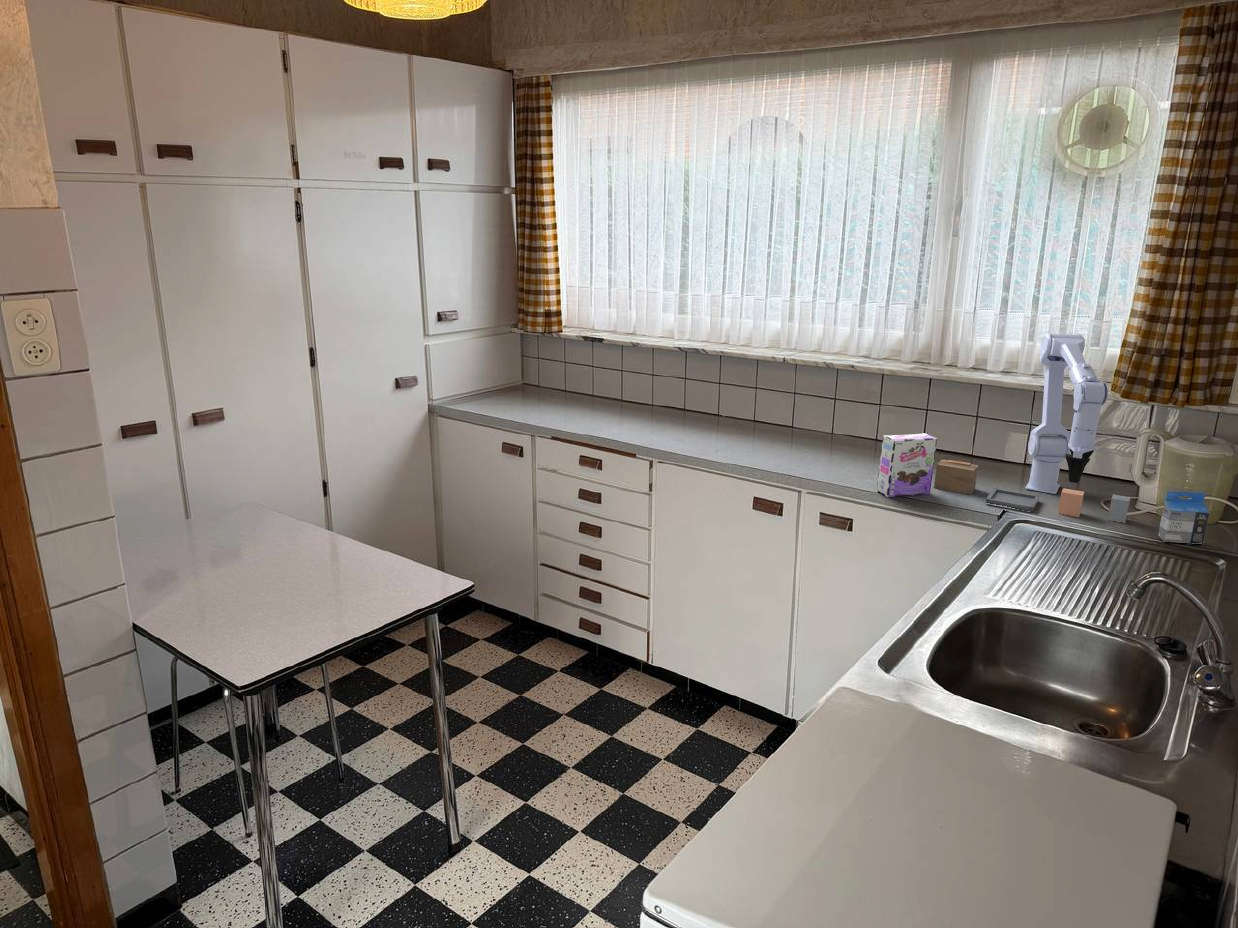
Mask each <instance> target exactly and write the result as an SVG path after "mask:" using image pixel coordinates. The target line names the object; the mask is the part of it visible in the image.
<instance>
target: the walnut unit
mask: <svg viewBox="0 0 1238 928" xmlns="http://www.w3.org/2000/svg"><path fill="white" fill-rule="evenodd" d="M978 471H979V465H978V464H974V463H973V464H972V463H971V462H964V461H959V460H953V459H948V460H947V459H941V460H940V461H939V462H938V463H937V464H936V468H935V476H934V483H933V488H934V489H938V490H945V491H949V490H950V492H954V493H956V492H957V493H960V492H961V494H967V495H971V494H972V493H973V492H974V490H976V485H977V477H978V473H979V472H978Z"/></svg>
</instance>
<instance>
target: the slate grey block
mask: <svg viewBox="0 0 1238 928" xmlns="http://www.w3.org/2000/svg"><path fill="white" fill-rule="evenodd" d="M1130 501H1131V497H1130V496H1126V495H1125V496H1124V495H1119V494H1112V497H1111V500H1110V506H1109V511H1108V516H1107V521H1109V520H1110V521H1109V522H1114V521H1116V522H1115V523H1120V522H1123V523H1122V524H1126V521H1127V518H1128V510H1129V506H1130Z"/></svg>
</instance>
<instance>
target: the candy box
mask: <svg viewBox="0 0 1238 928" xmlns="http://www.w3.org/2000/svg"><path fill="white" fill-rule="evenodd" d="M937 442H938V438H937V437H935V436H932V435H930V434H928V433H924V432H923V433H914V434H893V435H891V434H890V435H886V434H885V435H883V436H882V442H881V450H880V458H879V467H878V474H877V475H878V476H877V481H876V488H875V489H876V490H877V492H878V491H879V492H880V494H881V495H883V496H885V497H886V498H894V497H907V496H906V495H912V496H923V495H922V494H925V495H931V488H932V480H933V475H934V474H933V472H934V465H935V459H936V458H935V457H936V450H937ZM879 492H878V493H879Z"/></svg>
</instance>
